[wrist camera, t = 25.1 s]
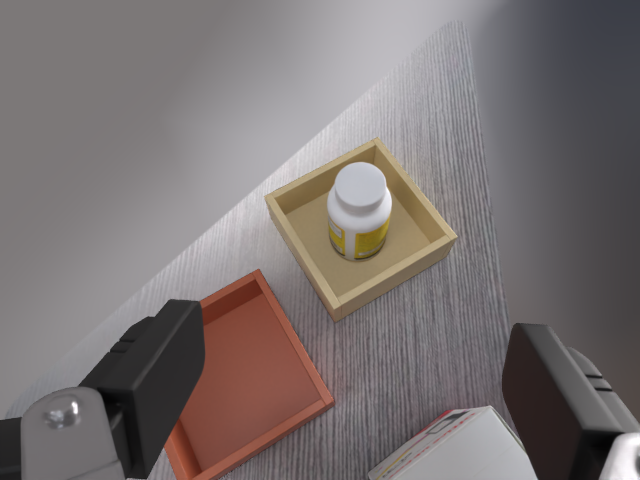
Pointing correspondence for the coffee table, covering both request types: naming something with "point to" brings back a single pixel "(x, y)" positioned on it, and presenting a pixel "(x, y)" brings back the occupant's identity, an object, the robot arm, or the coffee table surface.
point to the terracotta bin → (244, 384)
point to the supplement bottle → (359, 211)
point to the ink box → (459, 451)
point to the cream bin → (400, 245)
